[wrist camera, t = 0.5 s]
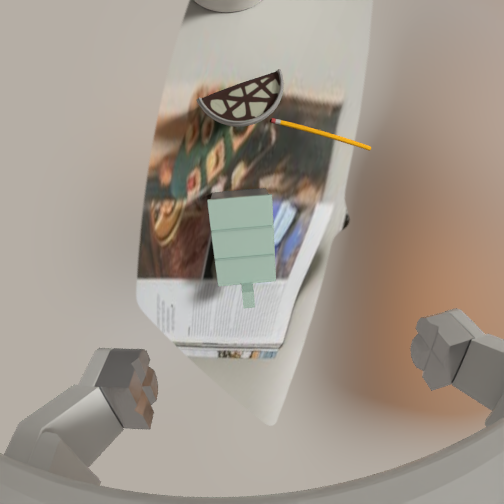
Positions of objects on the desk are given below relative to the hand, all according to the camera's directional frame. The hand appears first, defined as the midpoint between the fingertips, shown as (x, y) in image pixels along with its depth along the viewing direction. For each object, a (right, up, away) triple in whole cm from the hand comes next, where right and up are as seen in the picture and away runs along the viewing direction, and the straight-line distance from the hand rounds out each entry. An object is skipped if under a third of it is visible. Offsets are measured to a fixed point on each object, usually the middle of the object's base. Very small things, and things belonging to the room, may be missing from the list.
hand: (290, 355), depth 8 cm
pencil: (+11, +23, +40) cm, 47 cm away
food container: (-2, +26, +37) cm, 46 cm away
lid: (-2, +3, +40) cm, 41 cm away
